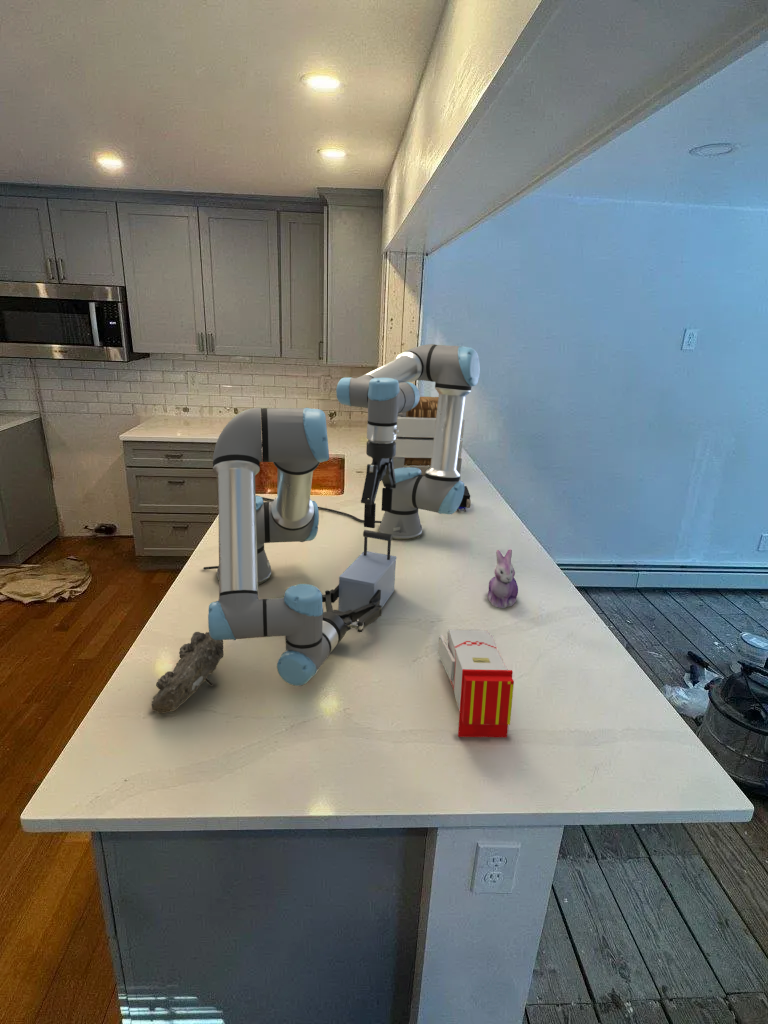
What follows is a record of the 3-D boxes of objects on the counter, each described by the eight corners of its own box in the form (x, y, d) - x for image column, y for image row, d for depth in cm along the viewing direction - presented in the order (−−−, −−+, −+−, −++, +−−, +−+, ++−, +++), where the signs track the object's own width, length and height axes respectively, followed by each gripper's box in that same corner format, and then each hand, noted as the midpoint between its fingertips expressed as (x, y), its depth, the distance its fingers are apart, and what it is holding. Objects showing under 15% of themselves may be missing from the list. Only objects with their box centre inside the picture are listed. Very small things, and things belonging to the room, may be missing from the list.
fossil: (177, 634, 126) (224, 603, 121) (207, 662, 129) (255, 633, 124) (129, 707, 107) (182, 674, 102) (165, 739, 110) (219, 708, 105)
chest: (362, 584, 162) (363, 553, 159) (394, 590, 160) (395, 559, 156) (338, 613, 147) (338, 579, 143) (372, 620, 144) (374, 586, 141)
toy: (488, 613, 130) (523, 677, 101) (484, 667, 133) (517, 744, 104) (435, 612, 130) (455, 676, 101) (432, 666, 133) (451, 743, 103)
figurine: (500, 612, 150) (506, 561, 145) (477, 595, 159) (482, 546, 153) (527, 605, 154) (535, 555, 149) (504, 589, 163) (510, 541, 158)
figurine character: (470, 516, 223) (465, 500, 237) (473, 499, 220) (467, 484, 233) (453, 516, 223) (449, 500, 236) (455, 498, 220) (451, 483, 233)
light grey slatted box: (382, 463, 289) (386, 382, 275) (445, 464, 293) (451, 384, 279) (390, 482, 257) (394, 392, 243) (460, 483, 261) (468, 394, 247)
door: (364, 553, 159) (365, 526, 157) (396, 559, 157) (398, 531, 154) (338, 579, 143) (339, 549, 141) (374, 586, 141) (375, 556, 138)
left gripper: (279, 638, 131) (321, 595, 151) (370, 659, 124) (400, 612, 144) (279, 609, 128) (321, 569, 148) (371, 630, 121) (402, 585, 141)
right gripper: (378, 452, 132) (375, 537, 139) (409, 433, 154) (405, 506, 161) (349, 449, 134) (347, 532, 141) (383, 430, 156) (380, 502, 164)
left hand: (360, 590), depth 146 cm, fingers closed on chest, 9 cm apart
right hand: (378, 518), depth 151 cm, fingers open, 13 cm apart
